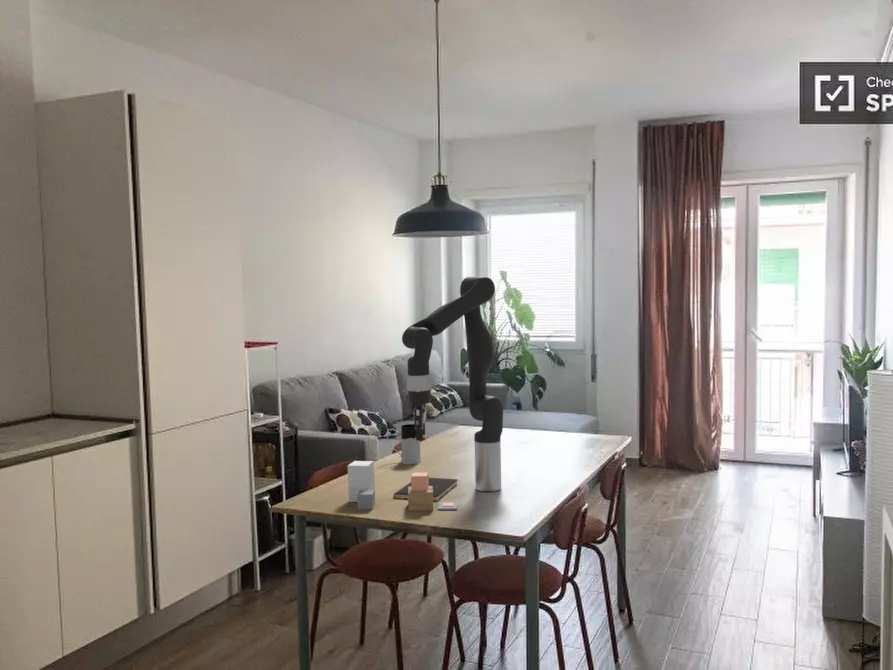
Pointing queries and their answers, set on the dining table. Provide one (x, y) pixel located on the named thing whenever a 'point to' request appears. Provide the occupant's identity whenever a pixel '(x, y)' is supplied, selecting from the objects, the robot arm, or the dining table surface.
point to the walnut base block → (420, 499)
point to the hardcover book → (438, 487)
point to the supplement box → (360, 478)
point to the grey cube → (366, 499)
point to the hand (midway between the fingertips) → (420, 437)
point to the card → (448, 505)
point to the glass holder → (408, 445)
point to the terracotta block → (419, 482)
